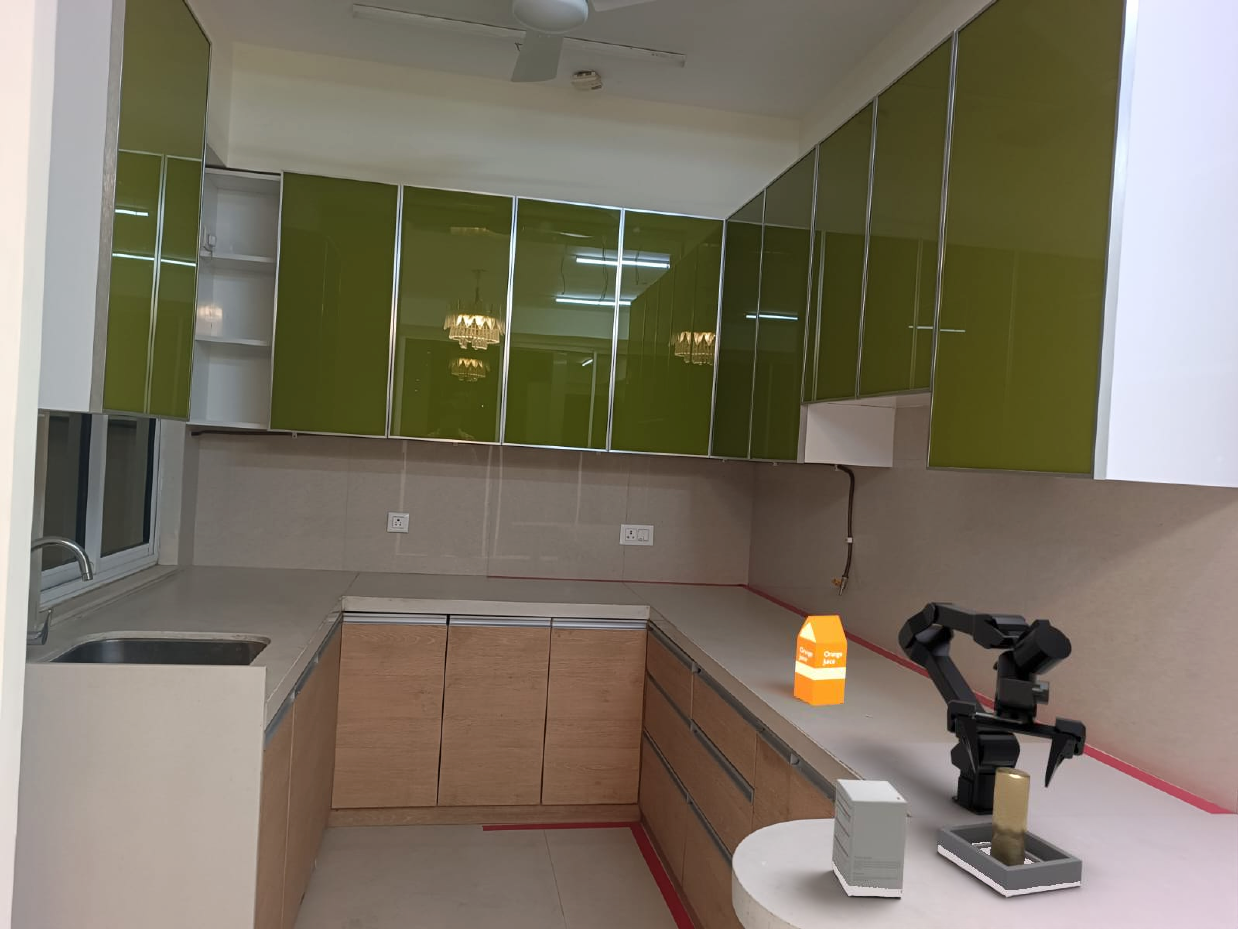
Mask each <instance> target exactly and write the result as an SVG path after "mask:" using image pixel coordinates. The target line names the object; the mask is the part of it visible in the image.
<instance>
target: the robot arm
mask: <svg viewBox="0 0 1238 929" xmlns="http://www.w3.org/2000/svg"><path fill="white" fill-rule="evenodd" d="M1026 621H1027V620H1026V618H1025V617H1024V616H1023V615H1021V614H1011V613H1010V614H1009V613H1007V614H1006V613H986V612H980V611H977V610H974V609H970V608H966V607H963V606H959V605H956V604H954V603H952V602H948V601H947V602H945V601H944V602H943V601H942V602H941V601H931V602H930V603H929V602H927V604H925V605H924V607H923V609H922V610H920V612H917V613H916V614H914V615H912V616H911V617H909V618H908V619H907V620H906V622H905V623H904V624H903V626H902V627H901V629H900V630H899V633H898V638H897V640H898V645H899V647H900V648H901V650H902V652H903V653H904V654H905V655H906V657H907V658H908V659H909V660H910V661H912V663H915V664H916V665H919V666H920V667H922V668H923V669H925V671H926V672H927V674H928V676H929V677H930V679H931V680H932V682H933V684H934V685H935V688H936V689H937V691H938V692H939V694H940V695H941V697H942V699H943V700H944V702H945V705H947V709H946V731H947V732H949V733H951V734H955V738H957V739H958V742H957V744H955V746H954V747H952V749H950V762H951V764H952V765H953V766H954V767H956V768H957V769H958V770H960V771H959V775H958V777H957V793H956V795H952V796H951V800H952V801H954V802H956V803H957V804H959V805H960V806H962V807H964V808H966V809H968V810H970V811H971V812H973V813H975V814H977V815H986V814H988V815H989V814H993V805H994V790H995V775H996V769H997V768H1000V767H1008V768H1014V769H1016V766H1017V763H1018V760H1019V757H1020V754H1021V745H1020V742H1019V740H1018V738H1017V736H1016V735H1015V734H1019V735H1023V736H1030V737H1035V738H1040V739H1047V740H1051V744H1050V749H1049V754H1048V760H1047V764H1046V771H1045V775H1044V788H1046V789H1048V788H1049V786H1050V784H1051V782H1052V780H1053V778H1054V775H1055V774H1056V771H1057V769H1058V768H1059V767H1060V766H1061V764H1062V762H1064V760H1065V759H1067V760H1072V759H1073V758H1074V756H1076V757H1080V756H1083V754H1084V750H1085V744H1086V741H1087V740H1086V738H1087V735H1086V734H1087V727H1086V725H1085V724H1084V722H1083V721H1081V720H1076V719H1072V718H1064V717H1060V716H1059V717H1058V716H1056V717H1055V718H1054V725H1049V724H1044V723H1037V722H1036V718H1037V715H1038V714H1037V712H1038V704H1039V705H1045V706H1048V705H1049V703H1050V702H1049V700H1050V681H1049V680H1048V681H1047V680H1043V679H1042V680H1041V679H1038V676H1043V675H1046V674H1048V673H1049V672H1051V670H1053V669H1054V668H1055V667H1057V666H1058V665H1059V664H1061V663H1062V662H1063V661H1065V660H1066V659H1067V658H1069V656H1070V655H1071V653H1072V650H1073V649H1072V643H1071V641H1070V639H1069V638H1068V637H1067V636H1066V635H1065V634H1064V633H1063V632H1062V630H1060V629H1059V628H1057V627H1055V626H1053V625H1051V622H1050V620H1049V619H1047V618H1045V619H1043V618H1036V619H1035V620H1034V621H1033V622H1032V623H1031V625H1030V624H1028V623H1027V622H1026ZM954 630H955V631H957V632H960V633H962V634H963V633H964V634H966V635H969V636H971V637H972V641H973V642H974V643H975V644H977V645H979V646H980V647H982V648H983V649H985V650H1005V651H1003V652H1002V653H999V655H998V658H997V660H996V661H995V662H994V664H993V666H992V669H993V670H994V671H996V680H995V681H996V683H995V691H994V699H993V700H994V701H993V712H987V711H986V710H985V708H984V707H983V706H982V704H981V702H980V701H979V699H978V697H977V696H976V695H975V693H974V691H973V690H972V689H971V687H970V685H969V684H968V682H967V681H966V679H965V677H964V676H963V674H962V673H961V672H960V670H959V669H958V667H957V666H956V664H955V662H954V661H953V659H952V658H951V656H950V650H951V642H952V640H953V639H954V638H955V633H954Z"/></svg>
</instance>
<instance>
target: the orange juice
mask: <svg viewBox="0 0 1238 929" xmlns="http://www.w3.org/2000/svg"><path fill="white" fill-rule="evenodd" d="M796 642H797V644H796V657H795V658H796V659H795V670H794V672H795V673H794V674H795V676H794V687H793V688H794V690H793V692H794V693H793V697H794V696H796V697H797V698H796V697H795V698H796V699H798V698H800V699H802V700H803V701H802V700H801V701H802V702H804V701H805V703H806V702H808V703H809V705H810V704H811V705H810V706H812V705H814V706H826V705H827V704H828V705H829V704H830V705H841V704H840V703H843V704H844V701H845V700H844V699H845V698H844V697H845V683H846V669H847V667H846V665H847V651H848V650H847V649H848V641H847V639H846V636H845V632H844V629H843V625H842V622H841V619H840V615H808V617H807V618H806V620H805V622H804V624H803V625H802V627H801V629H800V631H799V633H798V635H797V641H796ZM800 699H799V700H800ZM808 703H807V704H808ZM828 705H827V706H828Z"/></svg>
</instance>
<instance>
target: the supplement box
mask: <svg viewBox="0 0 1238 929" xmlns="http://www.w3.org/2000/svg"><path fill="white" fill-rule="evenodd" d="M907 816H908V802H907V801H906V799H904V797H903V796H902V795H901V794H900V793H899V792H898V791H897V790H896V789H895V788H894V787H893V786H892V785H891V784H890V782H888V781H887V780H865V779H863V780H862V779H861V780H859V779H841V778H840V779H839V778H838V779H836V786H835V804H834V823H833V824H834V825H833V839H832V853H831V854H832V856H831V857H832V858H831V862H832V861H833V862H834V864H835V866H836V867H837V869H838V871H839V872H840V874H841V875H842V876H843V878H844V879H845V881H846V883H847V884H848V885H849V886H858V887H860V886H861V887H869V888H870V887H873V888H877V887H878V888H885V889H887V888H888V889H902V890H903V884H904V882H903V881H904V866H905V852H906V851H905V848H906V834H907V833H906V832H907V819H908V818H907Z"/></svg>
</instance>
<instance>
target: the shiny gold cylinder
mask: <svg viewBox="0 0 1238 929" xmlns="http://www.w3.org/2000/svg"><path fill="white" fill-rule="evenodd" d="M1030 785H1031V775H1030V774H1029V773H1028V772H1026V771H1023V770H1021V769H1018V768H1015V769H1014V768H1008V767H1000V768H997V769H996V775H995V790H994V805H993V813H992V818H991V819H992V820H991V822H992V834H991V849H990V856H991V857H993V858H995V859H996V860H998V861H999V862H1001V863H1003V864H1004V865H1006V866H1008V867H1009V866H1016V865H1024V861H1025V847H1026V832H1027V831H1028V815H1029V803H1030V802H1029V800H1030V789H1031V788H1030V787H1031V786H1030Z"/></svg>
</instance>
